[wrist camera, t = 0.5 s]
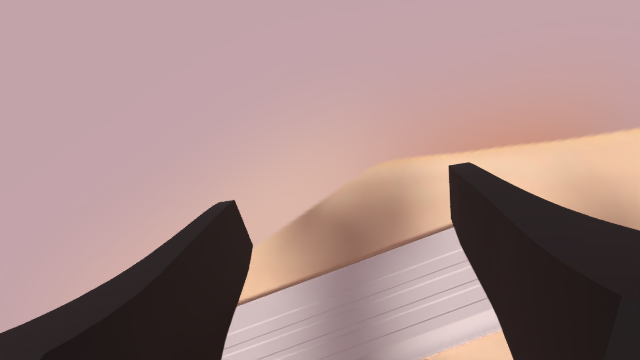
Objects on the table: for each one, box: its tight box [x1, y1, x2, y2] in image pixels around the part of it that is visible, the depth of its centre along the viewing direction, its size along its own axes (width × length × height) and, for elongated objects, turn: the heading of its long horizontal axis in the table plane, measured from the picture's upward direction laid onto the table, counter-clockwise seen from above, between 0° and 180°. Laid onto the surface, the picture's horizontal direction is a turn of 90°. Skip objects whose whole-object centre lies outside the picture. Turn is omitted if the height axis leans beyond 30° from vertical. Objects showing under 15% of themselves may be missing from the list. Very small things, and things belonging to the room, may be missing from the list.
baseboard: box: [221, 196, 539, 360], centre depth 26 cm, size 30×3×10 cm
